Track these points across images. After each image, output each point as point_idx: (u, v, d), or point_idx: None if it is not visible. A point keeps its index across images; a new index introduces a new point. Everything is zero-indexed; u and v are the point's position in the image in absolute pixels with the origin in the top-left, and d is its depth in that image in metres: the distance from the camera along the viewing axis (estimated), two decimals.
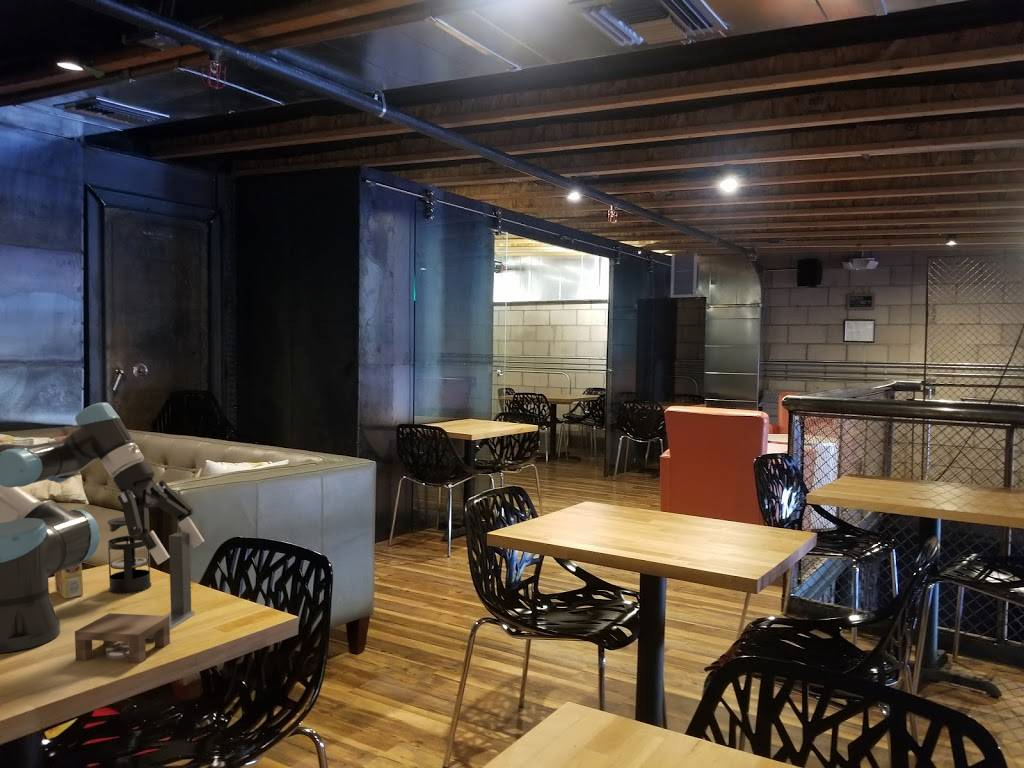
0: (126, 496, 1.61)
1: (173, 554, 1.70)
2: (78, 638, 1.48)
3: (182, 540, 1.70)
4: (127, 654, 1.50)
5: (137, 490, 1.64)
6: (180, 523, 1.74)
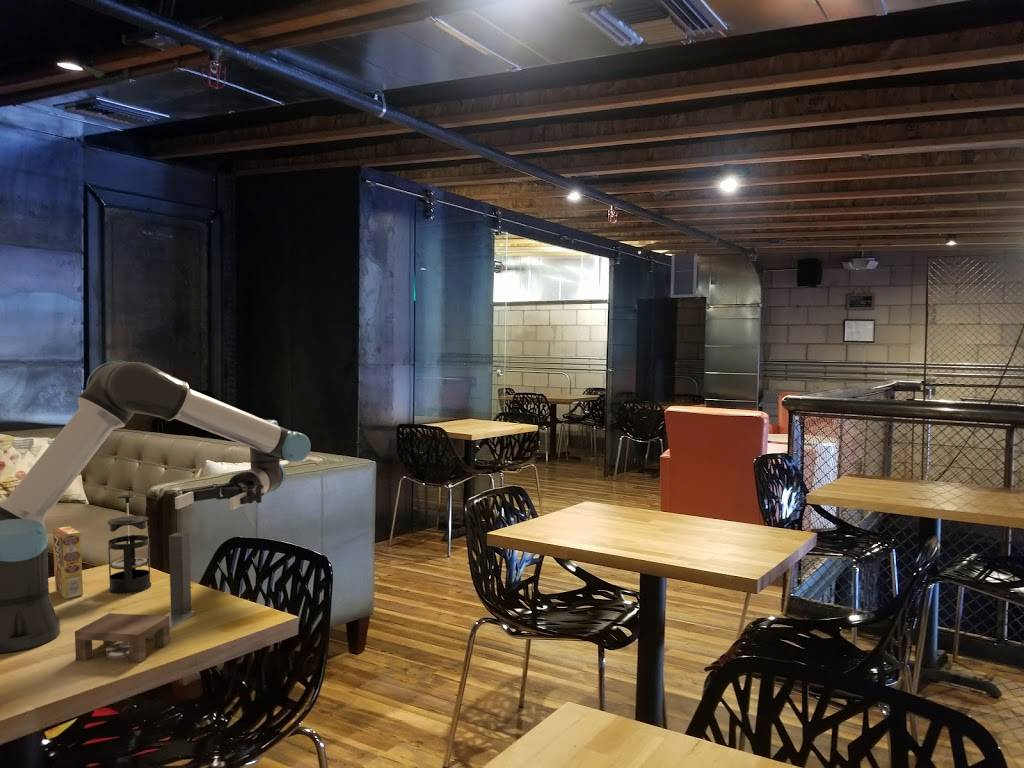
0: (262, 492, 1.95)
1: (173, 554, 1.70)
2: (78, 638, 1.48)
3: (182, 540, 1.70)
4: (127, 654, 1.50)
5: None
6: (192, 494, 1.88)
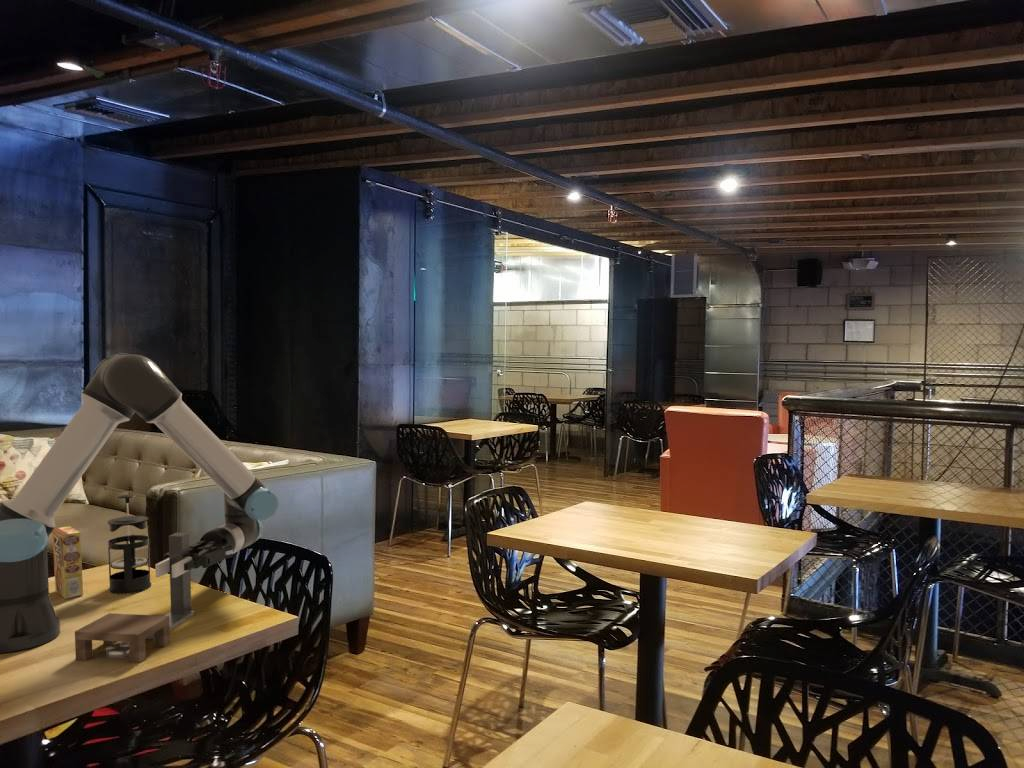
0: (229, 554, 1.80)
1: (173, 554, 1.70)
2: (78, 638, 1.48)
3: (182, 540, 1.70)
4: None
5: None
6: None
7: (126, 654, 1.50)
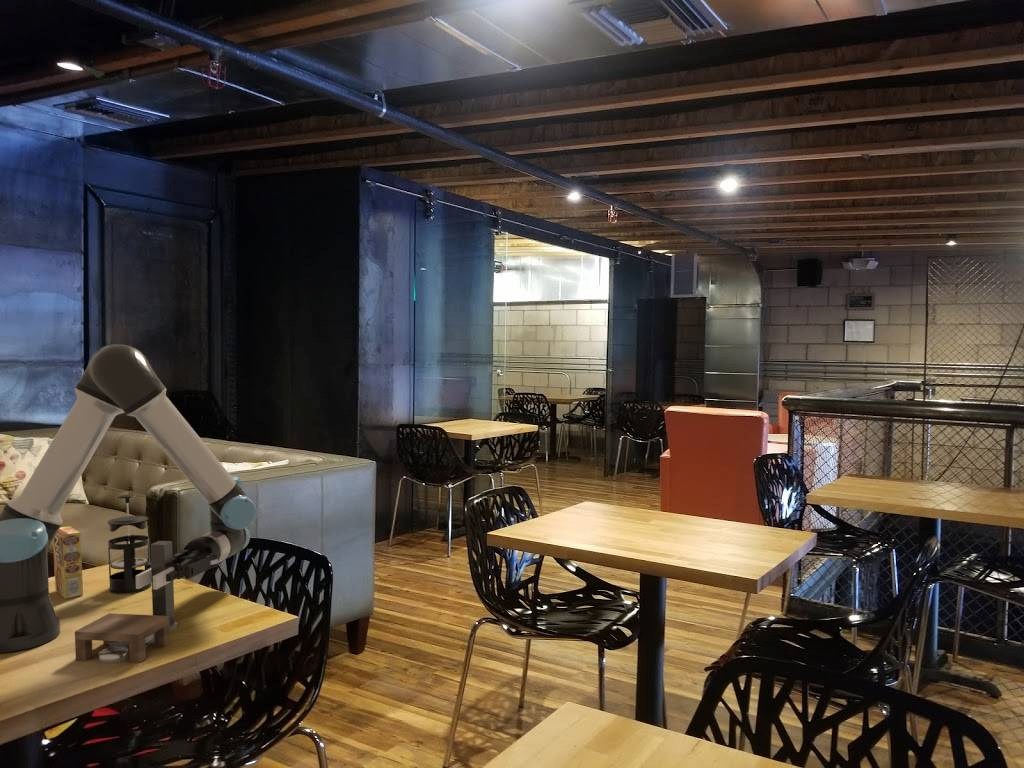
0: (214, 564, 1.73)
1: (155, 563, 1.63)
2: (78, 638, 1.48)
3: (164, 549, 1.62)
4: (125, 655, 1.49)
5: None
6: None
7: (122, 658, 1.48)
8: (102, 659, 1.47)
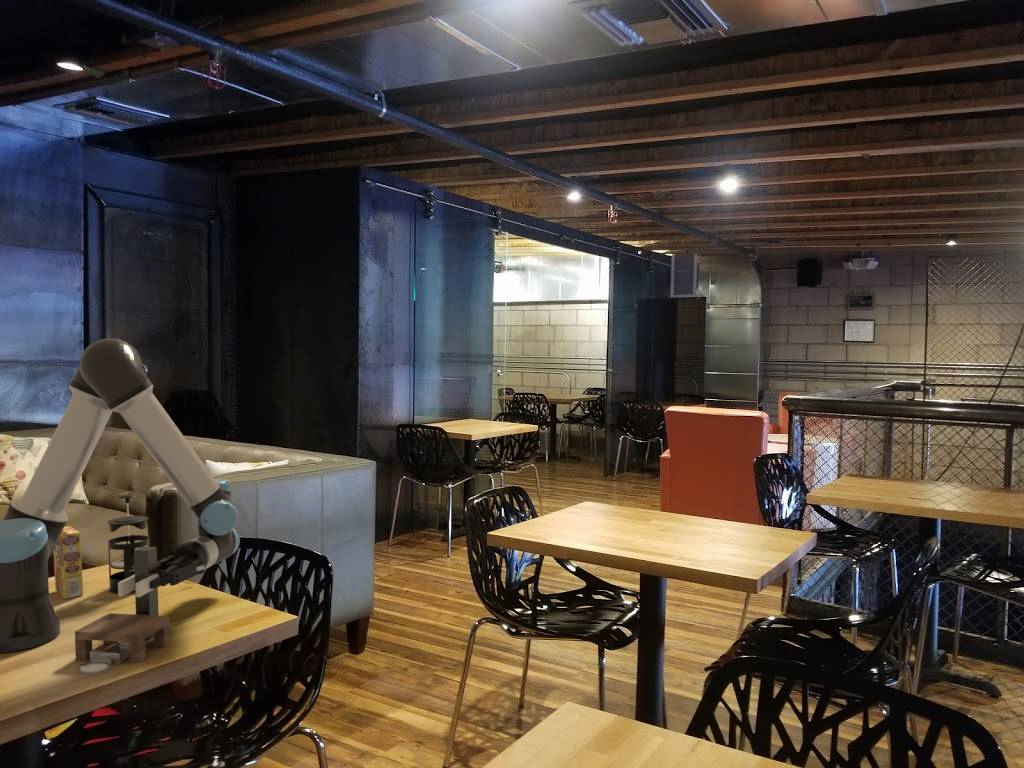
0: (200, 570, 1.68)
1: (139, 570, 1.58)
2: (78, 638, 1.48)
3: (148, 555, 1.57)
4: (108, 667, 1.44)
5: None
6: None
7: (105, 670, 1.43)
8: (84, 671, 1.42)
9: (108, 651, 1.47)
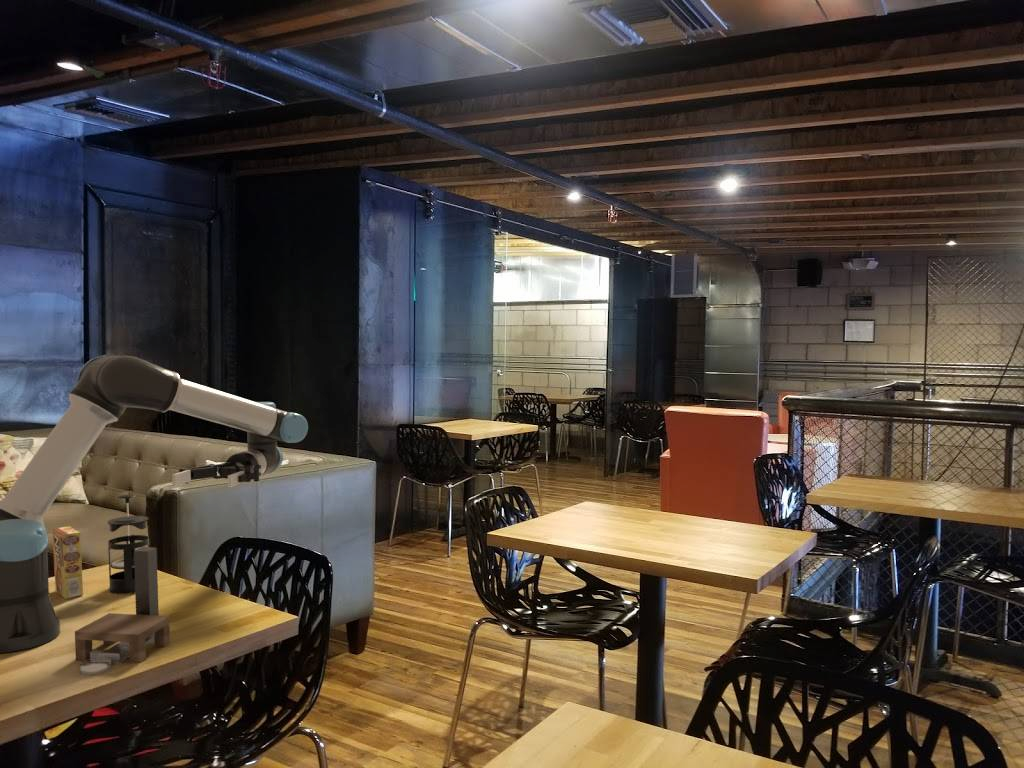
0: (260, 472, 1.94)
1: (139, 570, 1.58)
2: (78, 638, 1.48)
3: (148, 555, 1.57)
4: (108, 666, 1.44)
5: None
6: (189, 472, 1.87)
7: (105, 669, 1.43)
8: (84, 671, 1.42)
9: (108, 652, 1.47)
